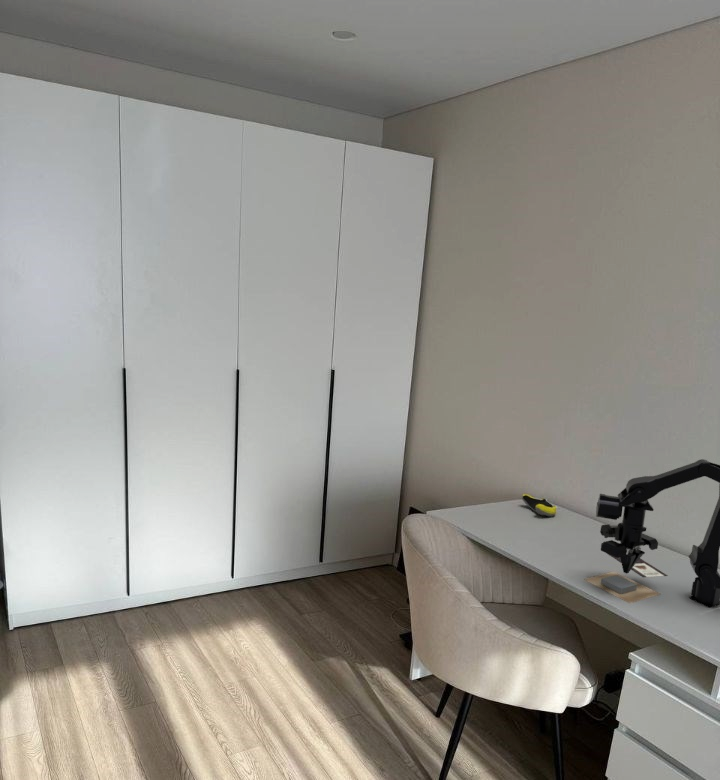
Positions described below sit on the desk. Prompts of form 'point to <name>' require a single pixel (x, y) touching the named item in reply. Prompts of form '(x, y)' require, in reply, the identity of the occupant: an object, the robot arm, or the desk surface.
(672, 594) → the desk surface
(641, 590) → the mat
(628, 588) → the tile
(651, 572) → the chocolate bar
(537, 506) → the black and yellow shoe
